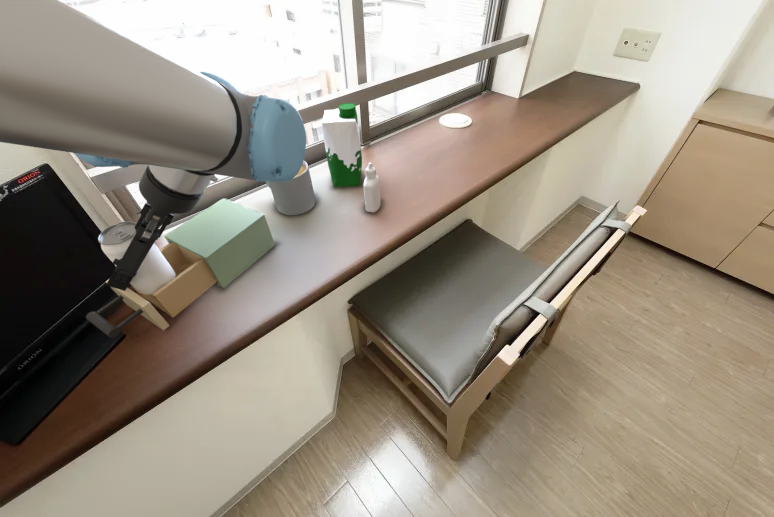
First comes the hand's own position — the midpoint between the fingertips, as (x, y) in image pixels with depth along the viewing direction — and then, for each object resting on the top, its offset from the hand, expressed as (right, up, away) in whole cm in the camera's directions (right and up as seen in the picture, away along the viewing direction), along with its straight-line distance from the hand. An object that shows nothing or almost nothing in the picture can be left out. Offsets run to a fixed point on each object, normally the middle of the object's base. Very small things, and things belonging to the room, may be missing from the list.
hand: (124, 270), depth 59 cm
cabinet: (+11, +3, +16) cm, 19 cm away
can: (+4, -2, +3) cm, 5 cm away
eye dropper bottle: (+42, +15, +27) cm, 52 cm away
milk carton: (+34, +24, +36) cm, 55 cm away
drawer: (+3, -6, +6) cm, 9 cm away
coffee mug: (+21, +17, +30) cm, 40 cm away
